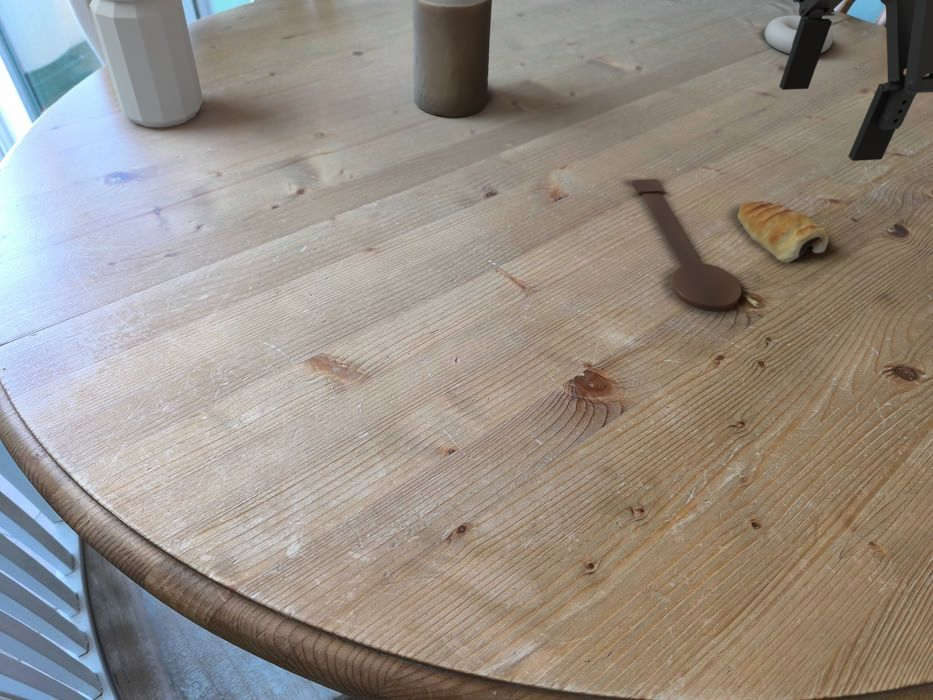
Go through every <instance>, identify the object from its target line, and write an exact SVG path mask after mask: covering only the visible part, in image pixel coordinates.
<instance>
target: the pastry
mask: <svg viewBox="0 0 933 700" xmlns="http://www.w3.org/2000/svg"><path fill="white" fill-rule="evenodd" d="M737 220H738V221H739V222H740V224H741V225H742V226H743V229H744V231H746V232H747V233H748V235H749V237H750V238H751V239H752V240H754V241H755V242H756V243H758V244H759V245H761V246H762V247H763V248H765V249H766V250H767V251H768V252H770V253H771V255H773V256H774V257H775V258H776V259H777V260H779V261H780V262H783V263H787V264H788V263H791V262H792V261H794V260H796V259H798V258H800V257H803V256H804V255H805V254H806V251H807V250H808V249H809V250H811V251H812V253H814V254H821V253H824V252H825V251H826V249H827V247H828V243H829V239H830V238H829V234H828V231H827V230H826V228H825V227H823V226H821V227H820V226H819V225H818V224H817V223H816V222H815V221H814V220H813V219H812V218H811V217H808V216H807V214H806V213H805V212H803V211H796V210H794V211H793V210H792V209H791V208H787V207H786V206H785V207H784V206H782V205H781V204H778V203H772V202H768V201H763V200H761V201H760V200H759V201H752V202H747V203H746V202H744V203H742V204H741V205H740V206H739V208H738V213H737Z"/></svg>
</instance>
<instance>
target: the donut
mask: <svg viewBox="0 0 933 700" xmlns="http://www.w3.org/2000/svg"><path fill="white" fill-rule="evenodd" d="M800 19H801V16H800V15H783V16H778V17H776V18H774V19H772V20H771V21H769V22H768V24H767V26H766V28H765V30H764V37H765V40H766V42H767V44H768V45H769V46H770V47H772V48H773V49H775V50H777V51H779V52H781V53H785V54H788V55H790V52H791V49H792V44H793V40H794V37H795V34H796V31H797V28H798V25H799V22H800ZM833 40H834V33H833V31H832V30H831V28H830V29H829V32H828V35H827V37H826V40H825V43H824V46H823V49H822V51H821V54H822V53H824V52H827V50H828V49H830V47H831V45H832V44H833Z"/></svg>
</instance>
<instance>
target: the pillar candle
mask: <svg viewBox="0 0 933 700" xmlns="http://www.w3.org/2000/svg"><path fill="white" fill-rule="evenodd" d="M492 7H493V0H412V51H413V52H412V54H413V57H412V61H413V62H412V64H413V98H414V103H415V105H416V106H417V107H418V108H419V109H420V110H421V111H424V112H426V113H428V114H431V115H435V116H443V117H450V118H451V117H452V118H459V117H460V118H461V117H466V116H471V115H474V114H476V113H479V112H481V111H482V110H483V109H485V107H486V106H487V101H488V87H489V69H490V67H489V64H490V45H491V44H490V43H491V28H492V27H491V26H492V25H491V24H492Z"/></svg>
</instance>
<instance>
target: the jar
mask: <svg viewBox="0 0 933 700" xmlns="http://www.w3.org/2000/svg"><path fill="white" fill-rule="evenodd" d="M88 7H89V10H90V12H91V16H92V19H93V23H94V26H95V29H96V33H97V37H98V39H99V43H100V46H101V49H102V53H103V56H104V60H105V63H106V65H107V69H108V73H109V76H110V79H111V83H112V86H113V90H114V93H115V95H116V100H117V102H118V106H119V109H120V110H121V112H122V113H123V114H124V116H125V117H126V118H127V119H128V120H130V121H131V122H133V123H134V124H136V125H140V126H142V127H145V128H171V127H175V126H178V125H182V124H185V123H187V122H188V121H190V120H192V119H193V118H195V117H196V116H197V114H198V112H199V110H200V109H201V106H202V105H203V104H202V103H203V101H204V96H203V92H202V87H201V82H200V78H199V74H198V68H197V64H196V59H195V55H194V50H193V46H192V40H191V37H190V32H189V27H188V22H187V18H186V13H185V8H184V4H183V0H91V1H90V3H89V5H88Z"/></svg>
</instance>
